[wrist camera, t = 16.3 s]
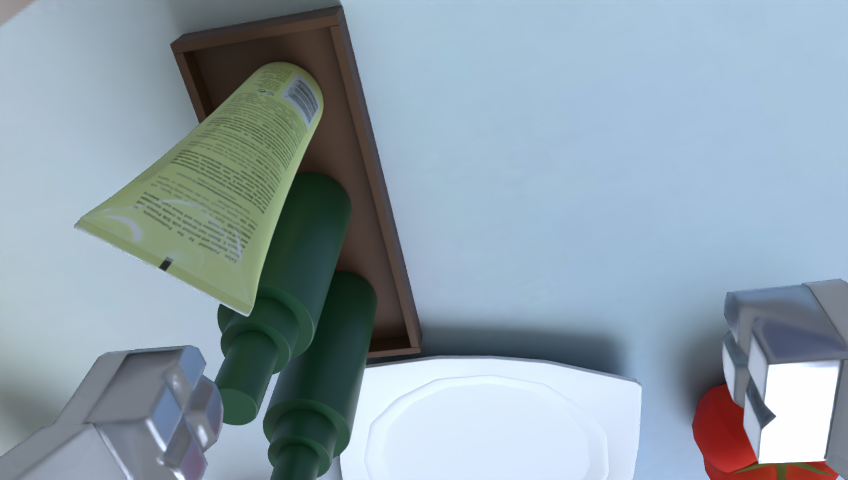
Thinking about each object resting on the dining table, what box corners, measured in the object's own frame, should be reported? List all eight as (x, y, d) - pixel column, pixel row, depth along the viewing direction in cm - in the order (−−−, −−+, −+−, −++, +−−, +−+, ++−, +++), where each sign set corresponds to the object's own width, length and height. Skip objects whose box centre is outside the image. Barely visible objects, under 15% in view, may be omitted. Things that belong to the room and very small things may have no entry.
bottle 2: (299, 275, 51) (218, 489, 35) (368, 266, 51) (317, 482, 35) (318, 330, 54) (250, 553, 38) (384, 323, 53) (343, 548, 37)
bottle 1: (267, 177, 47) (157, 370, 31) (341, 166, 47) (268, 358, 30) (289, 242, 50) (198, 451, 34) (359, 233, 49) (301, 442, 33)
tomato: (819, 443, 58) (856, 512, 52) (680, 450, 59) (701, 517, 53) (839, 352, 53) (881, 417, 47) (686, 361, 54) (710, 425, 48)
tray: (182, 34, 43) (169, 44, 41) (342, 4, 42) (336, 13, 40) (296, 348, 56) (290, 366, 54) (422, 335, 54) (420, 353, 53)
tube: (250, 141, 46) (121, 330, 29) (226, 66, 43) (70, 226, 27) (334, 129, 45) (249, 318, 29) (314, 52, 43) (209, 210, 26)
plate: (333, 335, 55) (327, 358, 53) (653, 348, 54) (660, 372, 51) (351, 534, 68) (347, 559, 66) (609, 548, 66) (614, 575, 64)
